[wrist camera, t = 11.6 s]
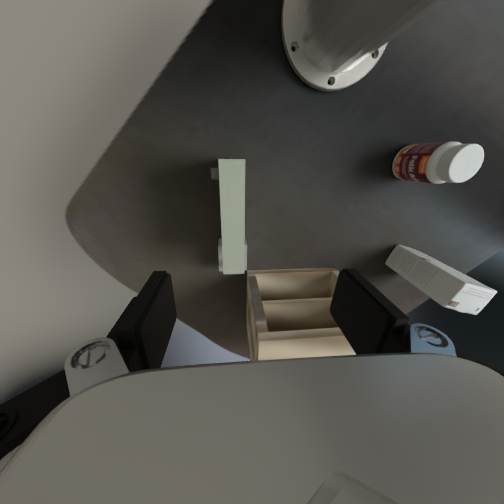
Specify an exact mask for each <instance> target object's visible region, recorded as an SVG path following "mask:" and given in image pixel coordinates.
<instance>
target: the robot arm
mask: <svg viewBox="0 0 504 504" xmlns="http://www.w3.org/2000/svg"><path fill="white" fill-rule="evenodd" d="M443 1H445V0H283V5H282V16H281V29H282V40H283V44H284V49H285V53H286V55H287V58H288V60H289V63H290V65H291V66H292V68H293V70H294V71H295V73H296V74H297V75H298V77H299V78H300V79H301V80H302V81H303V82H304V83H306V84H307V85H309V86H310V87H312V88H314V89H317V90H319V91H326V92H333V91H339V90H342V89H345V88H348V87H349V86H351V85H353V84H355V83H356V82H358V81H359V80H360V79H362V78H363V77H364V76H366V74H367V73H368V72H369V71H370V70H371V69H372V68H373V67H374V66H375V64H376V63H377V62H378V60H379V59H380V57H381V56H382V54H383V52H384V50H385V48H386V46H387V44H388V42H389V41H390V40H391V39H393V38H394V37H395V36H397V35H398V34H399V33H401V32H402V31H404V30H405V29H406V28H408V27H409V26H410V25H412V24H413V23H414V22H416V21H417V20H419V19H420V18H421V17H423V16H424V15H425V14H427V13H428V12H430V11H431V10H432V9H434V8H435V7H436V6H438V5H439V4H440V3H442V2H443ZM291 48H294V52H293V51H292V50H291ZM328 81H329V83H330V85H329V84H328ZM330 314H331V315H332V317H333V319H334V320H335V322H336V323H337V325H338V327H339V328H340V330H341V331H342V333H343V334H344V336H345V338H346V339H347V341H348V342H349V344H350V346H351V347H352V349H353V350H354V352H355V353H356V355H341V356H323V357H306V358H289V359H273V360H257V361H242V362H229V363H228V362H227V363H213V364H198V365H187V366H174V367H164V368H160V367H161V364H162V361H163V358H164V355H165V352H166V349H167V346H168V343H169V340H170V337H171V333H172V330H173V327H174V324H175V321H176V316H177V314H176V307H175V300H174V294H173V287H172V280H171V275H170V274H167V272H166V271H154V272H153V273H152V274H151V276H150V277H149V279H148V281H147V282H146V284H145V285H144V287H143V288H142V290H141V291H140V293H139V294H138V296H137V297H134V298H133V299H132V300H131V302H130V303H129V304H128V306H127V307H126V309H125V310H124V312H123V313H122V315H121V316H120V318H119V319H118V321H117V322H116V324H115V325H114V327H113V328H112V329H111V331H110V332H109V334H108V335H107V337H106V338H97V339H93V340H90V341H88V342H86V343H84V344H82V345H80V346H79V347H78V348H76V349H75V350H74V351H73V352H72V353H71V354H70V355H69V356H68V357H67V359H66V361H65V369H64V370H63V371H60V372H59V373H57V374H55V375H53V376H52V377H50V378H48V379H46V380H44V381H43V382H41V383H39V384H37V385H35V386H33V387H32V388H30V389H28V390H26V391H24V392H23V393H21V394H19V395H17V396H16V397H14V398H12V399H10V400H8V401H6V402H5V403H3V404H1V405H0V504H504V371H502V370H500V369H498V368H496V367H493V366H491V365H489V364H486V363H484V362H482V361H479V360H477V359H475V358H472V357H470V356H468V355H465V354H463V353H461V352H458V351H456V350H455V349H454V345H453V343H452V341H451V340H450V339H449V338H448V337H447V336H446V335H445V334H444V333H442V332H441V331H439V330H437V329H436V328H433V327H431V326H428V325H424V324H413V325H411V326H410V325H409V324H408V321H409V318H408V317H407V316H406V315H405V314H404V313H403V312H402V311H401V310H400V309H398V308H397V307H396V306H395V305H394V304H393V303H392V302H391V301H390V300H389V299H387V298H386V297H385V296H384V295H383V294H382V293H381V292H380V291H379V290H378V289H376V288H375V287H374V286H373V285H372V284H371V283H370V282H369V281H368V280H367V279H365V278H364V277H363V276H362V275H361V274H360V273H359V272H358V271H357V270H356V269H343V270H342V271H340V272H339V275H338V279H337V283H336V286H335V290H334V294H333V298H332V301H331V305H330Z"/></svg>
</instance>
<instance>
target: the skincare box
mask: <svg viewBox="0 0 504 504" xmlns="http://www.w3.org/2000/svg"><path fill="white" fill-rule="evenodd" d="M385 264H386V265H387V266H388V267H390V268H391V269H392V270H394V271H395V272H397V273H398V274H399V275H401V276H402V277H403V278H405V279H406V280H407V281H409V282H410V283H412V284H413V285H414V286H416V287H417V288H418V289H420V290H421V291H422V292H424V293H425V294H427V295H428V296H429V297H431V298H432V299H433V300H435V301H436V302H438V303H439V304H440V305H442V306H443V307H447V308H450V309H454V310H457V311H459V312H466V313H470V314H474V315H477V314H478V313H479V312H480V311H481V310H482V309H483V308H484V306H485V305H486V304H487V303H488V302H489V301H490V300H491V299H492V297H493V296H494V295H495V294H496V293H497V291H496V290H494V289H491V288H489V287H487V286H485V285H483V284H482V283H480V282H478V281H476V280H474V279H472V278H470V277H468V276H467V275H465V274H463V273H461V272H459V271H457V270H455V269H453V268H451V267H449V266H447V265H445V264H443V263H441V262H439V261H438V260H436V259H434V258H432V257H430V256H428V255H426V254H424V253H422V252H420V251H417V250H415V249H412V248H409V247H406V246H402V245H396V247H395V248H394V249H393V251H392V252H391V254H390V255H389V257H388V259H387V260H386V262H385Z"/></svg>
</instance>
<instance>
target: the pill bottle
mask: <svg viewBox="0 0 504 504" xmlns="http://www.w3.org/2000/svg"><path fill="white" fill-rule="evenodd" d="M483 159H484V150H483V148H482V147H481V146H480V145H478V144H461V143H459V142H440V143H426V144H412V145H408V146H406V147H404V148H403V149H401V150H400V151H399V152H398V154H397V155H396V157H395V158H394V161H393V165H392V170H393V173H394V175H395V176H396V177H397V178H399V179H404V180H411V181H419V182H427V183H433V184H440V183H444V182H453V183H460V182H464V181H466V180H468V179H470V178H471V177H472V176H473V175H474V174H475V173H476V172H477V171H478V170H479V168H480V167H481V165H482V162H483Z"/></svg>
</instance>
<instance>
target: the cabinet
mask: <svg viewBox="0 0 504 504" xmlns="http://www.w3.org/2000/svg"><path fill="white" fill-rule="evenodd" d="M338 275H339V271H338V270H337V269H336V268H306V269H275V270H247V310H246V325H247V335H248V344H249V353H250V361H257V360H273V359H289V358H306V357H323V356H341V355H356V353H355V352H354V350H353V349H352V347H351V346H350V344H349V342H348V341H347V339H346V338H345V336H344V334H343V333H342V331H341V330H340V328H339V327H338V325H337V323H336V322H335V320H334V319H333V317H332V315H331V314H330V305H331V301H332V298H333V294H334V290H335V286H336V283H337V279H338Z"/></svg>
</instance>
